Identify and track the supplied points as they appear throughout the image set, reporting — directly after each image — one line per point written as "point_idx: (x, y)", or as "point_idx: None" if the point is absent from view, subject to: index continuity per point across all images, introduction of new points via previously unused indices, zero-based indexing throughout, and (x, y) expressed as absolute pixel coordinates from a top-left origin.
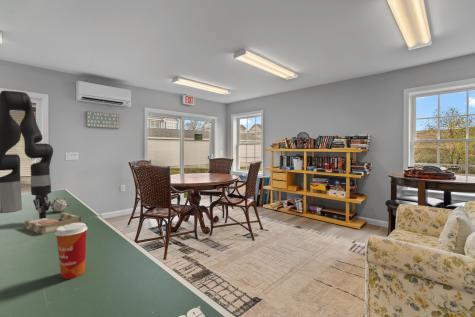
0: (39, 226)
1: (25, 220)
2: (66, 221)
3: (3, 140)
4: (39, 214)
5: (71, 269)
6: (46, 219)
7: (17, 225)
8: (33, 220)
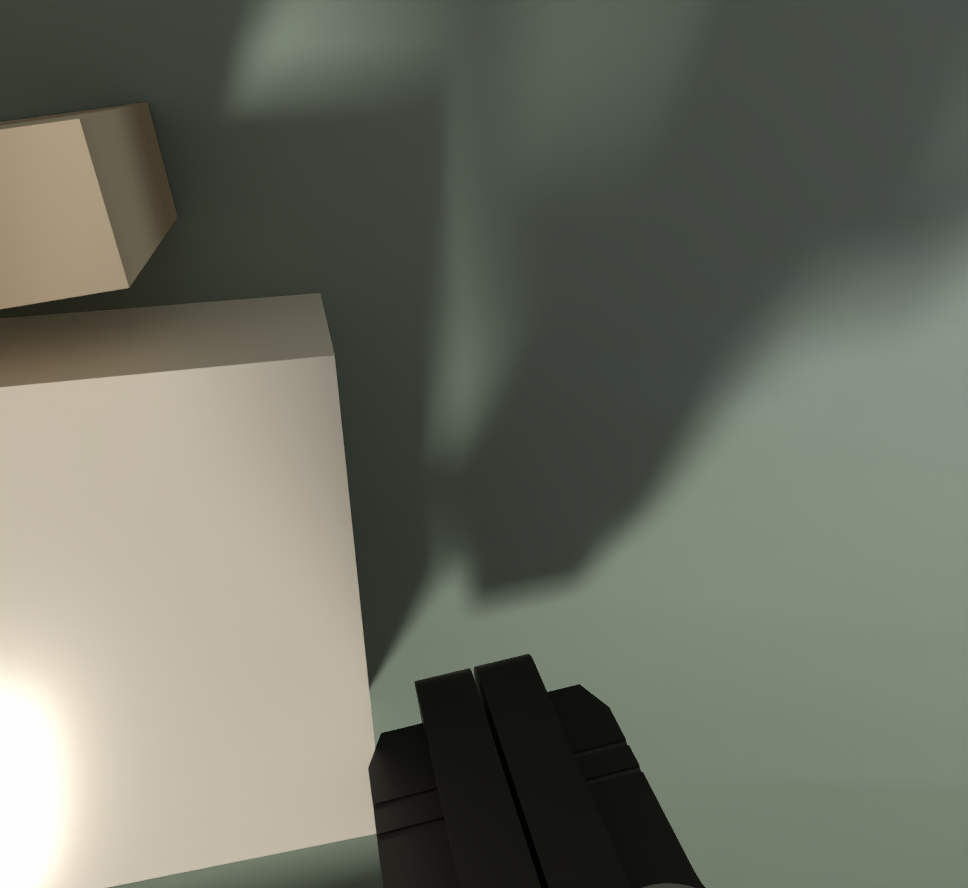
0: None
1: (84, 167)
2: None
3: None
4: (550, 811)
5: None
6: (17, 851)
7: (862, 6)
8: (301, 484)
